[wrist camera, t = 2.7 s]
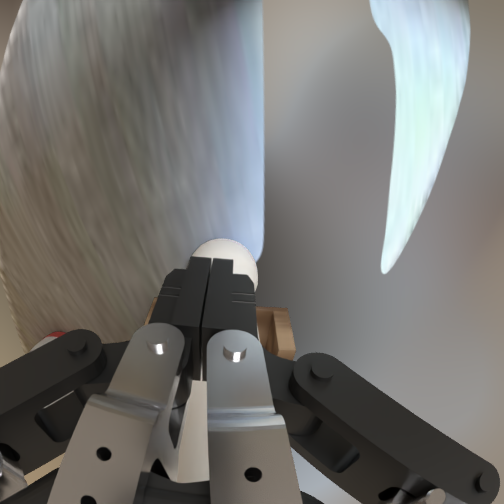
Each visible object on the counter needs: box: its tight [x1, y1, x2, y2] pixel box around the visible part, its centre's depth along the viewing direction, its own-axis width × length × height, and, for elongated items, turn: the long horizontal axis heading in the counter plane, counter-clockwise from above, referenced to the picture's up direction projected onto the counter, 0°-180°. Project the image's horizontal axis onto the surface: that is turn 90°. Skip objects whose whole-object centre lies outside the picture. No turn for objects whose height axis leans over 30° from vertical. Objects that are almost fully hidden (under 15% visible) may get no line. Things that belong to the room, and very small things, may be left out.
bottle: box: [176, 239, 260, 483], centre depth 21 cm, size 8×8×30 cm
